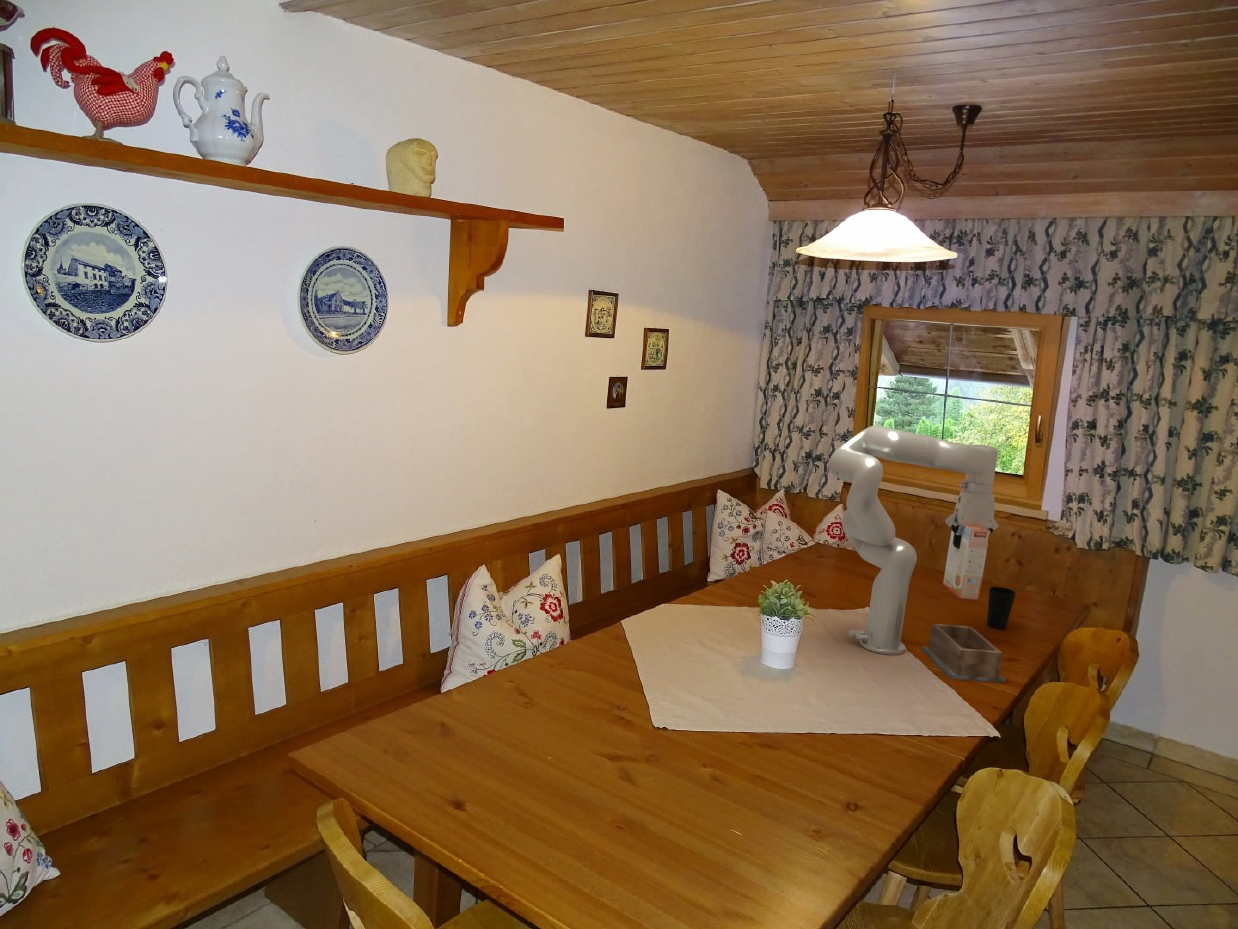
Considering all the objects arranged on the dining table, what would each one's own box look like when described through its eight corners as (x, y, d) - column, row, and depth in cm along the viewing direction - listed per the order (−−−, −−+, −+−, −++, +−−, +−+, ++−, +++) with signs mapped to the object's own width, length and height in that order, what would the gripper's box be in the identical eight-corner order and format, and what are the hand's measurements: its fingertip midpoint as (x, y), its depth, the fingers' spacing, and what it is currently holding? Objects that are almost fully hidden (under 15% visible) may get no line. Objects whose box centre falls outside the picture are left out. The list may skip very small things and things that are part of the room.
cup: (1005, 633, 272) (1012, 596, 270) (980, 626, 277) (986, 589, 275) (1012, 627, 278) (1018, 591, 276) (987, 620, 283) (993, 584, 281)
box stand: (949, 678, 232) (954, 649, 230) (921, 649, 251) (925, 622, 250) (1005, 682, 232) (1010, 654, 231) (972, 653, 252) (977, 626, 251)
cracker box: (979, 601, 252) (991, 530, 249) (958, 599, 252) (970, 528, 249) (962, 586, 266) (972, 519, 262) (942, 584, 266) (952, 517, 262)
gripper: (953, 488, 250) (943, 549, 253) (1013, 493, 250) (1002, 554, 254) (943, 482, 257) (933, 542, 260) (1001, 488, 258) (990, 547, 261)
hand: (967, 547), depth 257 cm, fingers closed on cracker box, 6 cm apart
